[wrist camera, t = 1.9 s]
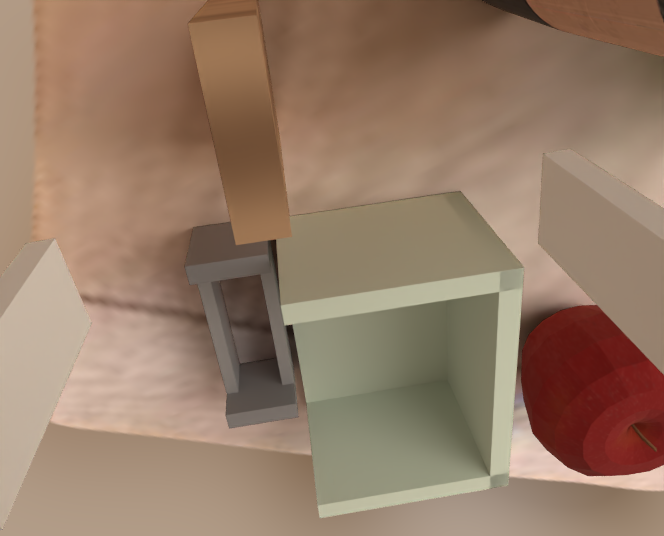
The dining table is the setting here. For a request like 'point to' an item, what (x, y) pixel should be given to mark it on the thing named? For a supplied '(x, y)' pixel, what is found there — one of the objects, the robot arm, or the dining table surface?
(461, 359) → the cabinet
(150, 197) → the dining table surface
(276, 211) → the door panel
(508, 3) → the travel mug
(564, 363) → the apple
